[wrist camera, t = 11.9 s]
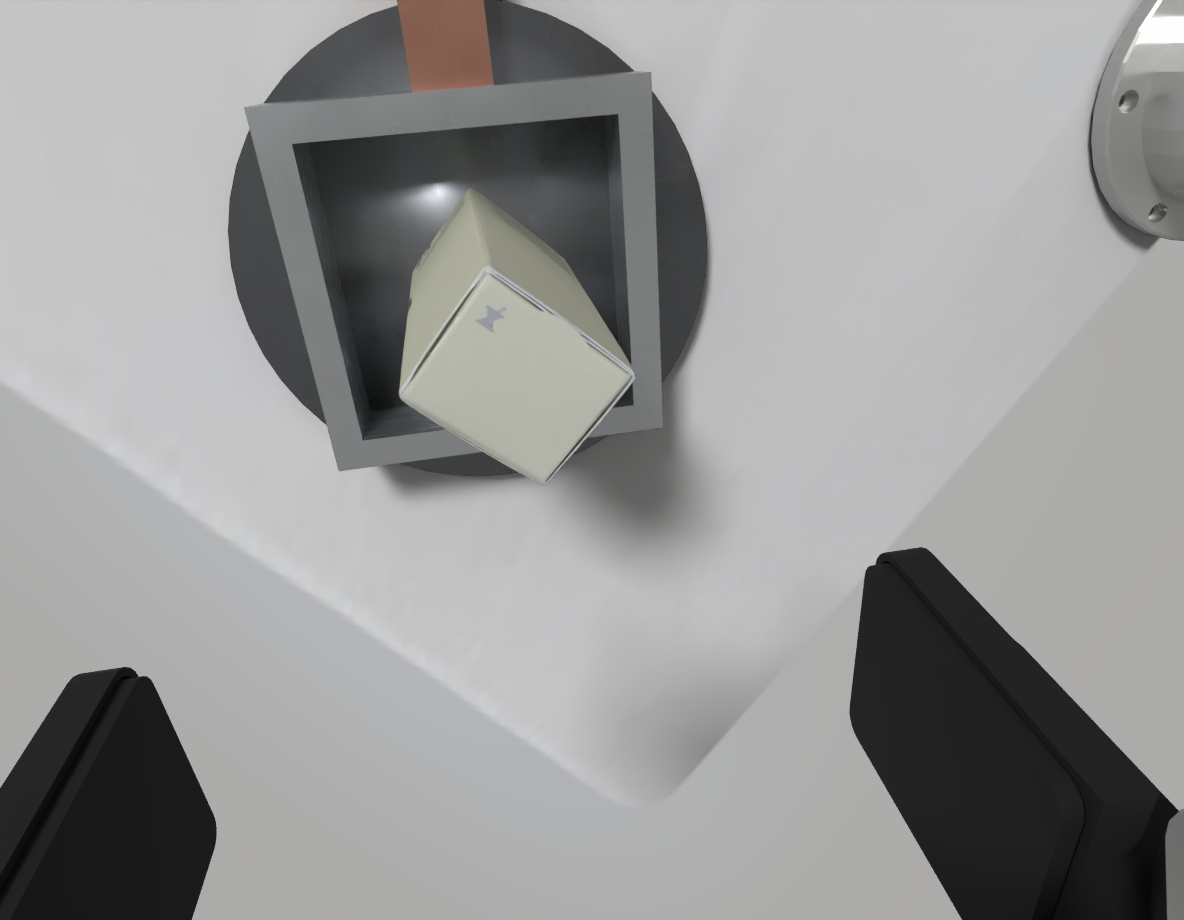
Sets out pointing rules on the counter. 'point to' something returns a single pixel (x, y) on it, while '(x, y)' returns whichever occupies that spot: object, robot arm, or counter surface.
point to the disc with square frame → (431, 192)
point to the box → (507, 343)
